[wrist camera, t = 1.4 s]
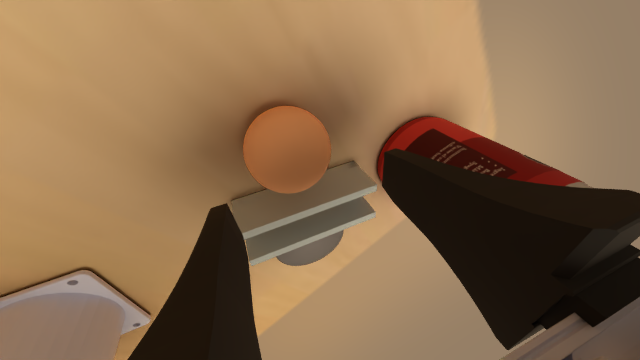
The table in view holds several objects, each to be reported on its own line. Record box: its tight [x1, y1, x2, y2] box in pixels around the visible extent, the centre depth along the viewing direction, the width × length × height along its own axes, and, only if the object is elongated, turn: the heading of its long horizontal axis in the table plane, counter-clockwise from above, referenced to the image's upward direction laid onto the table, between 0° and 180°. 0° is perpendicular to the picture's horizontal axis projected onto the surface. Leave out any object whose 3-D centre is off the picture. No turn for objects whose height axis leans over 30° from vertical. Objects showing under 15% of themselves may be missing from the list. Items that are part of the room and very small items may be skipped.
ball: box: [243, 106, 331, 194], centre depth 14 cm, size 5×5×5 cm
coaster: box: [276, 230, 343, 266], centre depth 23 cm, size 7×7×1 cm
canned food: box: [378, 117, 592, 188], centre depth 17 cm, size 8×8×11 cm
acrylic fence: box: [231, 161, 377, 266], centre depth 18 cm, size 10×3×4 cm, turn 98°
